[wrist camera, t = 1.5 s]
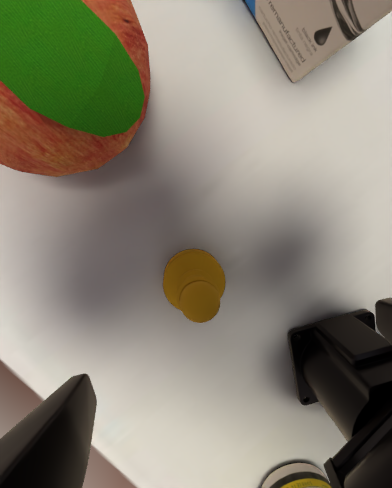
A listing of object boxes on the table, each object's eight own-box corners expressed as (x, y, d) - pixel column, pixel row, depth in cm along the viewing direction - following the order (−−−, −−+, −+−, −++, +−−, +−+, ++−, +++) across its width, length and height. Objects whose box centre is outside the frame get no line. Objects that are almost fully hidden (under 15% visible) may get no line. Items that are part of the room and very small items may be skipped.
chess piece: (227, 253, 18) (249, 279, 13) (214, 307, 18) (232, 351, 14) (168, 243, 17) (169, 267, 12) (158, 299, 18) (155, 342, 13)
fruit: (81, 212, 16) (-48, 253, 6) (-53, 74, 14) (-557, -184, 4) (188, 118, 16) (225, 7, 6) (68, -41, 13) (-189, -633, 4)
